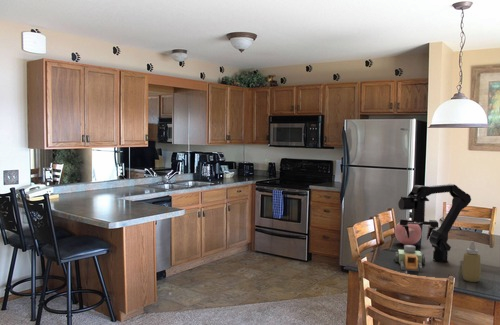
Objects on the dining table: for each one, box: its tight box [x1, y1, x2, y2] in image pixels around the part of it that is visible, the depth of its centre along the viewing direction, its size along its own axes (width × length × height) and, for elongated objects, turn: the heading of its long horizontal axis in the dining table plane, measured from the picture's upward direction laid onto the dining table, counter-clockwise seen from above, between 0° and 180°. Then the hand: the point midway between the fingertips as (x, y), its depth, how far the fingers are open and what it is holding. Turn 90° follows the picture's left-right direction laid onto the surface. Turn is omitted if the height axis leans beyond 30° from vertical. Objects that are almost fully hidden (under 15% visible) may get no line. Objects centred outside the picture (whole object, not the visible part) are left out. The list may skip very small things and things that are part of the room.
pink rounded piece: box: [394, 222, 422, 246], centre depth 256 cm, size 15×20×15 cm
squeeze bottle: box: [461, 240, 482, 283], centre depth 194 cm, size 8×8×18 cm
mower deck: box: [394, 244, 426, 266], centre depth 222 cm, size 14×9×8 cm, turn 73°
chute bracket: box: [399, 260, 423, 273], centre depth 212 cm, size 10×11×2 cm
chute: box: [405, 254, 418, 269], centre depth 213 cm, size 6×9×5 cm, turn 163°
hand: (418, 239), depth 222 cm, fingers open, 9 cm apart
